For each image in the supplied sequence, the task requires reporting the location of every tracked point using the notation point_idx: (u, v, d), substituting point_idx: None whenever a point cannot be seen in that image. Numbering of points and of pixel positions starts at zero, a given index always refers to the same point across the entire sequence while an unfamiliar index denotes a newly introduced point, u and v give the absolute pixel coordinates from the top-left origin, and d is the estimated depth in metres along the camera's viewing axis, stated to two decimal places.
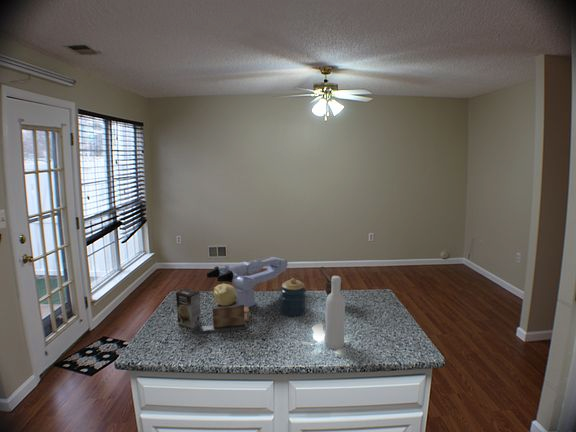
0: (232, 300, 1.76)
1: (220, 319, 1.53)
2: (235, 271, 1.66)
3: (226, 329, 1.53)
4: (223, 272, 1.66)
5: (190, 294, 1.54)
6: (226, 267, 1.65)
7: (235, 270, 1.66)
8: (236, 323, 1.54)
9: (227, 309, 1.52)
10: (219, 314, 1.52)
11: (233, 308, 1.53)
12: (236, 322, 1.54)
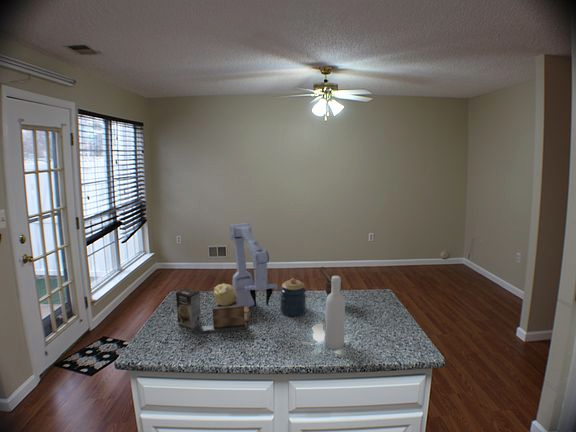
0: (232, 300, 1.76)
1: (220, 319, 1.53)
2: (266, 280, 1.53)
3: (226, 329, 1.53)
4: None
5: (190, 294, 1.54)
6: None
7: (266, 280, 1.52)
8: (236, 323, 1.54)
9: (227, 309, 1.52)
10: (219, 314, 1.52)
11: (233, 308, 1.53)
12: (236, 322, 1.54)
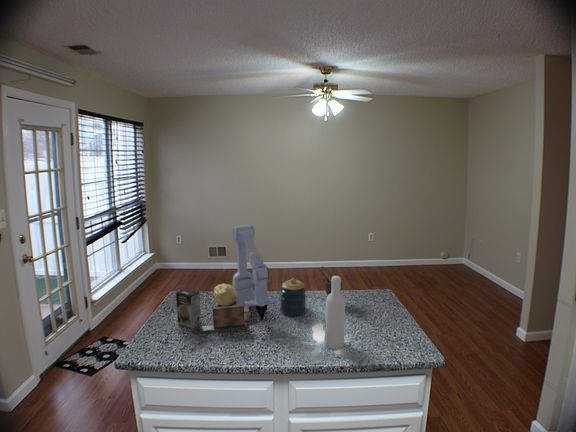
0: (232, 300, 1.76)
1: (220, 319, 1.53)
2: None
3: (226, 329, 1.53)
4: None
5: (190, 294, 1.54)
6: None
7: (266, 295, 1.54)
8: (236, 323, 1.54)
9: (227, 309, 1.52)
10: (219, 314, 1.52)
11: (233, 308, 1.53)
12: (236, 322, 1.54)
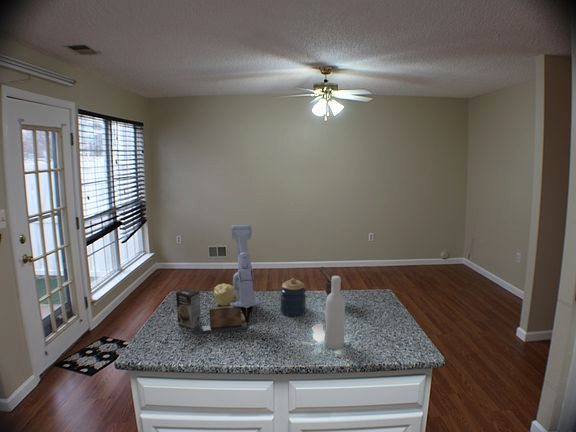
0: (232, 300, 1.76)
1: (217, 319, 1.52)
2: (252, 297, 1.53)
3: (226, 329, 1.53)
4: None
5: (190, 294, 1.54)
6: None
7: (251, 297, 1.53)
8: (233, 323, 1.54)
9: (224, 309, 1.52)
10: (216, 314, 1.52)
11: (230, 308, 1.52)
12: (233, 322, 1.54)
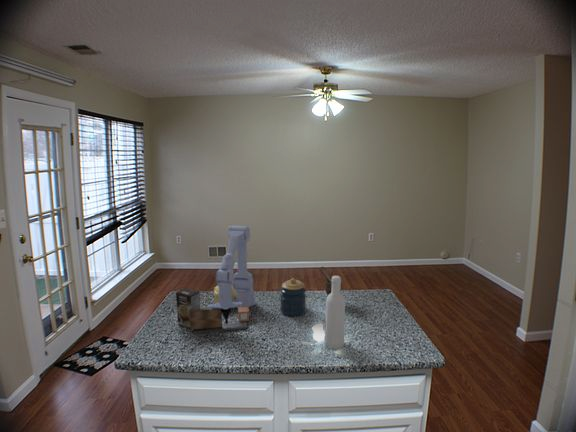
0: (232, 300, 1.76)
1: (197, 321, 1.51)
2: (231, 298, 1.51)
3: (226, 329, 1.53)
4: None
5: (190, 294, 1.54)
6: None
7: (231, 298, 1.51)
8: (213, 325, 1.53)
9: (204, 311, 1.50)
10: (196, 316, 1.50)
11: (210, 310, 1.51)
12: (213, 324, 1.52)
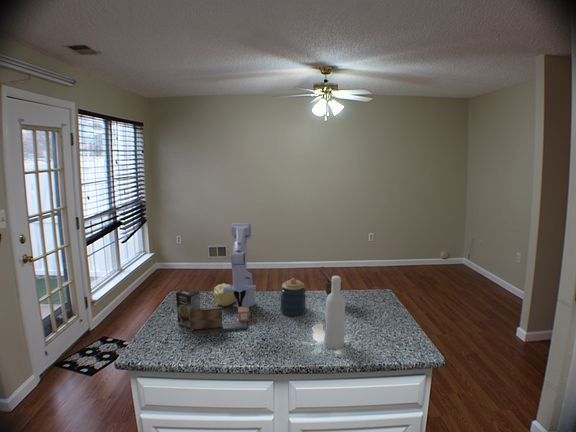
0: (232, 300, 1.76)
1: (197, 321, 1.51)
2: (245, 281, 1.52)
3: (226, 329, 1.53)
4: None
5: (190, 294, 1.54)
6: None
7: (244, 281, 1.51)
8: (214, 325, 1.53)
9: (204, 311, 1.50)
10: (196, 316, 1.50)
11: (210, 310, 1.51)
12: (214, 324, 1.53)
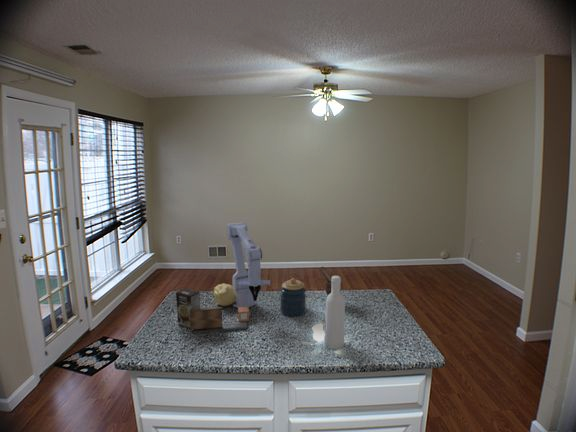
0: (232, 300, 1.76)
1: (197, 321, 1.51)
2: (260, 276, 1.57)
3: (226, 329, 1.53)
4: None
5: (190, 294, 1.54)
6: None
7: (260, 276, 1.57)
8: (214, 325, 1.53)
9: (204, 311, 1.50)
10: (196, 316, 1.50)
11: (210, 310, 1.51)
12: (214, 324, 1.53)
